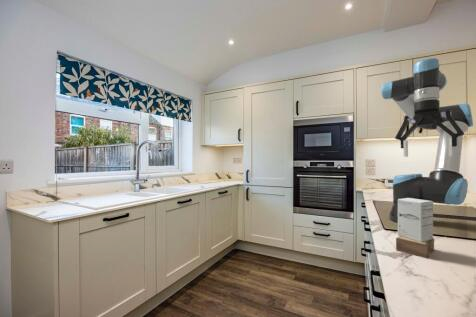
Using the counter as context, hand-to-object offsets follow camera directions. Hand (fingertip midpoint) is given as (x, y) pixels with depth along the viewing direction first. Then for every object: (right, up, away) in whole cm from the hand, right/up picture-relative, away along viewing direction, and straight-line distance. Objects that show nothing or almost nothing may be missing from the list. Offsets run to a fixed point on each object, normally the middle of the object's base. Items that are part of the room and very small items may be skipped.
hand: (427, 156), depth 88 cm
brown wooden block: (-13, -32, -11) cm, 36 cm away
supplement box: (-13, -28, -11) cm, 32 cm away
